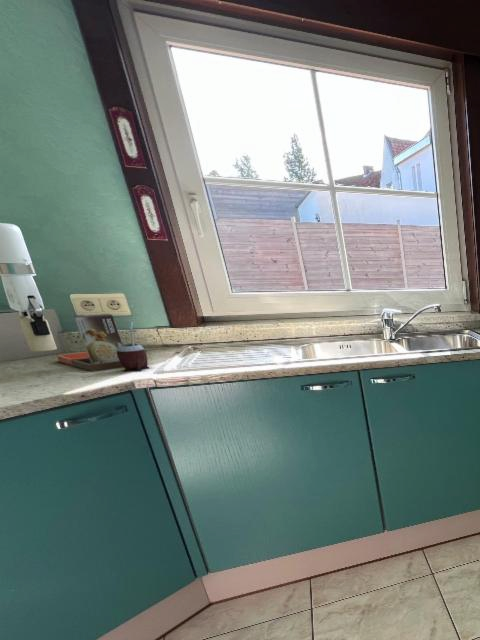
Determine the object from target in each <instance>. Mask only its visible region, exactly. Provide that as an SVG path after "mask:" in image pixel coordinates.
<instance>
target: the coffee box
mask: <svg viewBox="0 0 480 640" xmlns="http://www.w3.org/2000/svg"><path fill="white" fill-rule="evenodd" d="M73 318H74V321H75V323H76V326H77V329H78V332H79V334H80V337H81V340H82V343H83V345H84V348H85V350H86V352H87V353H88V356H89V358H90V361H91V364H99V363H107V362H115V361H119V359H118V357H117V351H116V350H117V347H118V346H119V345H124V344H123V341H122V338H121V334H120V332H119V329H118V327H117V323H116V321H115V318H114V315H113V314H112V313H101V314H100V313H99V314H97V313H96V314H75V315H73Z"/></svg>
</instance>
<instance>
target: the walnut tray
mask: <svg viewBox="0 0 480 640" xmlns="http://www.w3.org/2000/svg"><path fill="white" fill-rule="evenodd" d="M73 363H74V365H73V366H74V367H76V368H79V369H83V370H86V371H90V372H98V371H105V370H112V369H119V368H121V369H122V368H124V367H123V366H122V364H121V363H120V361H115V362H107V363H99V364H91V361H90V358H85V359H77V360H73Z"/></svg>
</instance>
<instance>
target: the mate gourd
mask: <svg viewBox="0 0 480 640" xmlns="http://www.w3.org/2000/svg"><path fill="white" fill-rule="evenodd" d="M133 325H134V321H133V320H131V322H130V324H129V332H130V338H131V343H127V344H123V345H119V346H118V347H117V350H116V351H117V357H118V359H119V361H120V363H121V364H122V366H123V367H122V368H124V369H123V371H124V372H128V371H129V372H130V371H137V372H142V370H146V369H150V367H149V366H148V355H147V352H146V350H145V348H144V347H143V346H142V345H141V344H139V343H135V339H134V329H133Z"/></svg>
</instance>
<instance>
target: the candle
mask: <svg viewBox="0 0 480 640" xmlns="http://www.w3.org/2000/svg"><path fill="white" fill-rule="evenodd" d="M32 316H33V315H32ZM45 321H46V323H47V326H48V329H49V332H50V335H41V336H36V335H34V333H33V330H32V327H31V324H30V322H31V320H30V318H29V316H26V317H24V318H23V319H21V320H20V321H19V323H20V326H21V328H22V331H23V334H24V337H25V339H26V343H27V345H28V348H29V350H30V351H31V352H49V351H55V350H58V347H57V344H56V342H55V339H54V335H53V333H52V330H51V328H50V327H51V326H50V324H49V321H48V320H47V319H45Z"/></svg>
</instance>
